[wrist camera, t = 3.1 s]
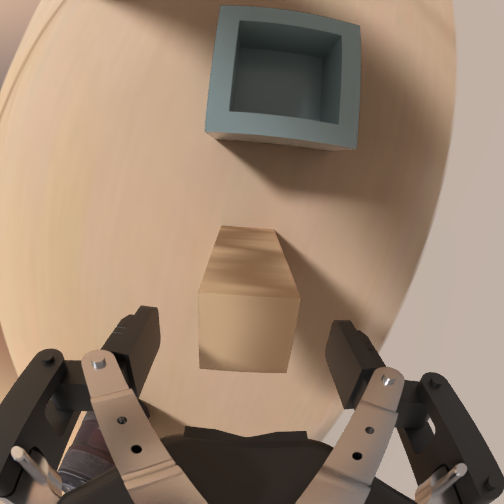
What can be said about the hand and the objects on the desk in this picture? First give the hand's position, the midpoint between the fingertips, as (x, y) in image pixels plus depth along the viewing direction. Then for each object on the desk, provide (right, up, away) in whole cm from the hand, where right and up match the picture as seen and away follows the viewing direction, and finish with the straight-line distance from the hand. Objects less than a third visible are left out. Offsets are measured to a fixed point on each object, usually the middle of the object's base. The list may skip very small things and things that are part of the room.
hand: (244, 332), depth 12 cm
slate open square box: (+2, +15, +6) cm, 17 cm away
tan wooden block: (0, +4, +10) cm, 10 cm away
